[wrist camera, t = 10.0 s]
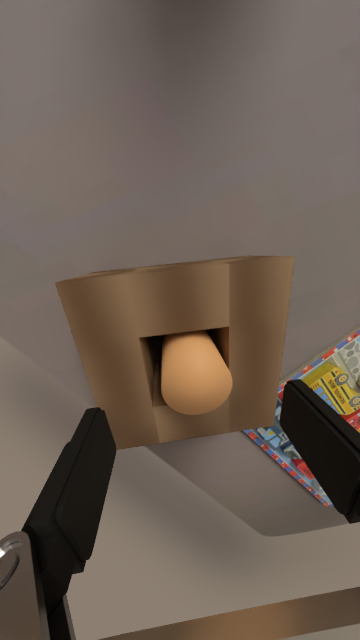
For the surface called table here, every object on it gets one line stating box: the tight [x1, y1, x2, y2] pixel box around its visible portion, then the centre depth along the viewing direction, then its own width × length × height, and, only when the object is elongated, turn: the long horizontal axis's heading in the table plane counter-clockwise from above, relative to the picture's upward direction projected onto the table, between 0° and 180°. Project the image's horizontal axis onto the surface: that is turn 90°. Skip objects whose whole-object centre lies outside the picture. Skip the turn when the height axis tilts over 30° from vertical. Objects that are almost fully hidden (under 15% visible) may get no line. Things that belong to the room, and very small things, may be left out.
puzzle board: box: [243, 326, 360, 507], centre depth 25 cm, size 30×23×3 cm
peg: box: [161, 329, 232, 415], centre depth 15 cm, size 4×4×8 cm
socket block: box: [55, 256, 295, 450], centre depth 16 cm, size 14×14×6 cm
